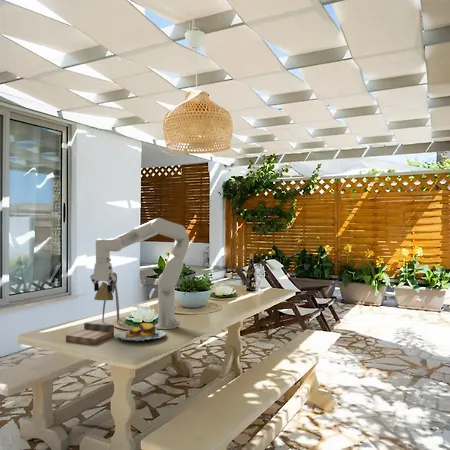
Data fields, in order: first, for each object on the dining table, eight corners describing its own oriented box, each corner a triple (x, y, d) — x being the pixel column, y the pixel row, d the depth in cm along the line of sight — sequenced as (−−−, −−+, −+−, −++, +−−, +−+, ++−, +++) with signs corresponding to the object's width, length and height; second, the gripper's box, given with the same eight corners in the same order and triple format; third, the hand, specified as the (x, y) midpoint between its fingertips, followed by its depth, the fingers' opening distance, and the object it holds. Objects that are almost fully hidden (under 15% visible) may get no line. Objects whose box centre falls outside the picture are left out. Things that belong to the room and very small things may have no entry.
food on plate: (106, 340, 222) (106, 327, 222) (141, 329, 243) (141, 318, 243) (141, 348, 208) (141, 335, 208) (175, 336, 228) (175, 324, 228)
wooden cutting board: (114, 336, 228) (114, 325, 227) (94, 344, 213) (94, 332, 213) (86, 333, 234) (86, 322, 234) (65, 341, 219) (65, 329, 219)
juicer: (118, 323, 254) (117, 273, 254) (102, 322, 258) (101, 272, 257) (126, 319, 264) (126, 271, 263) (111, 318, 267) (111, 270, 267)
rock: (118, 295, 240) (112, 291, 248) (110, 285, 236) (104, 280, 244) (103, 309, 236) (97, 303, 244) (94, 298, 232) (88, 293, 240)
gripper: (119, 260, 240) (120, 291, 241) (94, 259, 247) (94, 289, 247) (111, 261, 233) (111, 293, 234) (85, 260, 240) (86, 291, 240)
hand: (103, 291), depth 241 cm, fingers closed on rock, 8 cm apart
